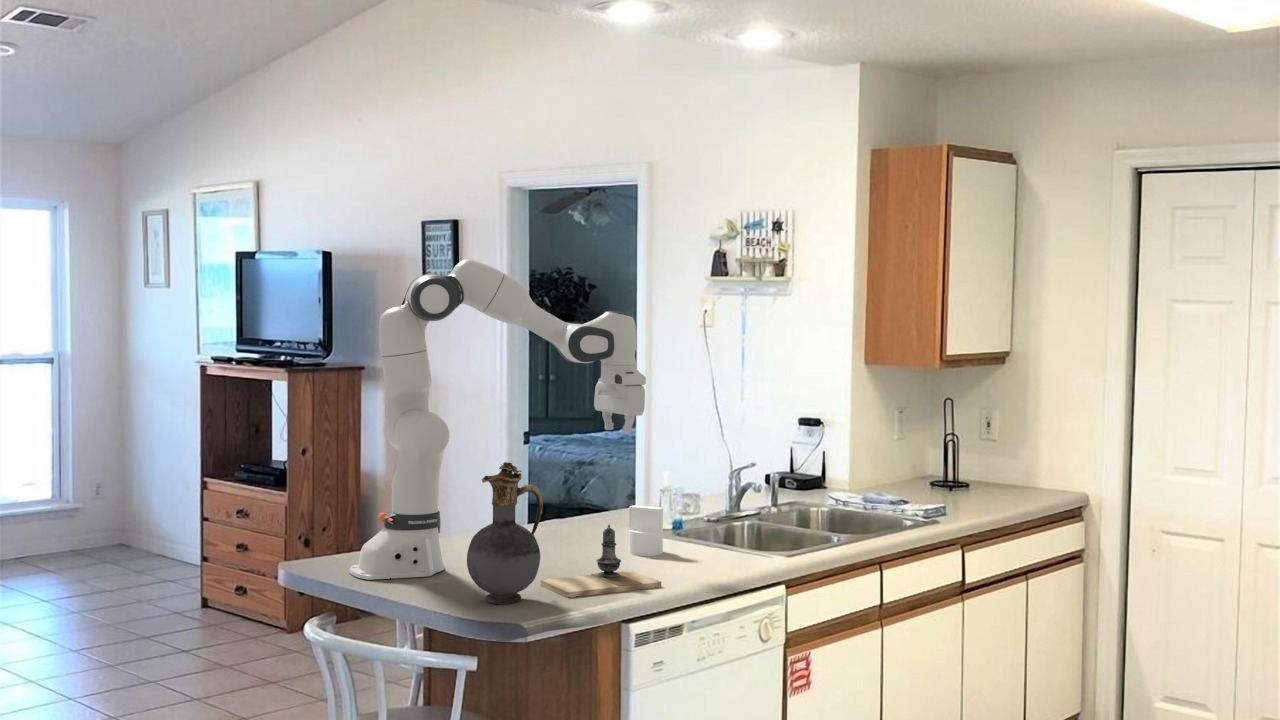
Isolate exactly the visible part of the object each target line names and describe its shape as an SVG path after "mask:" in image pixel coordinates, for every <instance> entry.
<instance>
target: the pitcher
mask: <svg viewBox="0 0 1280 720" xmlns="http://www.w3.org/2000/svg"><path fill="white" fill-rule="evenodd" d="M500 465H501V466H499V470H500V471H499V473H498V474H495V475H484V477H483V478H482V479H481V482H482V483H489V485H490V486H491V488H492V498H491V499H492V500H491V506H492V523H490V524H488V525H486V526H485V527H483V528H481V529H480V530H479V531H478V532H476V533H475V534H474V535H473V536H472V537H471V538H472V539H471V540H470V542H469V545H468V550H467V554H466V566H467V570H468V571H467V572H468V573H469V576H470V578H471V580H472V581H473V582H474V583H475V585H476V586H477V587H478V588H479V589H481V590H483V591H484V592H486V593H489V594H487V595H486V596H485V601H486V603H489V604H493V605H508V604H514V603H517V602H520V601H522V595H521V594H520V593H521V592H522V591H524V590H525V589H527V588H528V587H529V586H531V584H532V583H533V582H534V581H535V579H536V577H537V575H538V571H539V568H540V564H541V550H540V547H539V543H538V541H537V538H536V537H535V533H536V532H537V529H538V526H539V524H540V520H541V516H542V515H543V507H544V498H543V496H542V494H541V492H540V489H539V487H538V486H536V485H535V484H525V485H523V486H522V487H518V486H519V482H520V481H521V480H522V471H523V470H518V467H517V466H516V465H513V462H508V461H505V462H503V463H501V464H500ZM528 492H530V493H533V494H534V496H535V498H536V502H537V503H536V504H537V508H536V518H535V521H534V524H533V526H532V531H530V530H528V528H526V527H524V526H523V525H520V524H519V523H517V522H516V506H517V504H518V497H520V496H522V495H523V494H525V493H528Z"/></svg>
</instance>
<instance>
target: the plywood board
mask: <svg viewBox="0 0 1280 720" xmlns="http://www.w3.org/2000/svg"><path fill="white" fill-rule="evenodd" d="M616 572H617V573H618V574H620V576H619V577H615V578H602V577H598V576H597V575H598V574H599V573H600V572H599V573H598V572H597V573H590V574H585V575H575V576H567V577H558V578H547V579H540V586H542V587H544V588H546V589H548V590H550V591H552V592H554V593H556V594H559V595H560V596H563V597H565V598H566V599H567V598H568V597H570V598H577V597H576V596H579V597H585V596H586V597H587V596H594V595H595V596H596V595H603V594H613V593H621V592H628V591H629V592H630V591H639V590H638V589H640V590H647V589H646V588H648V589H656V588H655V587H657V588H662V581H660V580H658V579H655V578H653V577H649V576H648V575H645V574H642V573H639V572H637V571H634V570H624V571H616Z"/></svg>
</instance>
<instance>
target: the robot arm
mask: <svg viewBox="0 0 1280 720" xmlns="http://www.w3.org/2000/svg"><path fill="white" fill-rule="evenodd" d="M462 304H463V305H467V306H469V307H472V308H473V309H475V310H476V311H479V312H480V313H482V314H484V315H486V316H488V317H489V318H492V319H494V320H497V321H500V322H502V323H506V324H510V325H515V326H519V327H522V328H525V329H526V330H528V331H530V332H531V333H533V334H535V335H536V336H538V337H540V338H542V339H544V340H546V341H547V342H548V343H550V344H552V346H553V347H554V348H555V349H556V351H557V352H558V354H560V357H562V358H563V359H564V360H566V361H567V362H570V363H572V364H580V363H581V364H590V363H594V362H597V361H600V363H601V364H600V377H599V378H598V381H597V382H596V385H595V389H594V401H593V405H594V406H593V407H594V410H595V411H599V412H602V414H601V415H602V419H603V422H604V430H608V431H613V430H614V425H615V424H614V422H613V419H612V416H613V414H615V415H616V414H617V415H624V420H625V421H624V425H622V433H623V434H631V433H632V429H633V425H634V423H635V419H636V418H635V417H637V416H638V417H639V416H643V414H644V412H645V404H646V403H645V401H646V392H645V391H646V390H645V387H644V386H645V385H646V384H647V383H646V382H647V378H646V376H645V375H644V374H643V373H642V372H640V371H639V370H638V369H637V360H636V350H637V327H636V321H635V319H634V318H633V316H632V315H630V314H628V313H625V312H621V311H614V310H607V311H605V312H603V314H601V315H599V316H598V317H596V318H594V319H592V320H590V321H588V322H585V323H578V322H577V323H576V322H567V321H564V320H562V319H560V318H558V317H556V316H555V315H554V314H552V313H549V311H546V310H545V309H543V308H541V307H540V306H538V305H537V304H536V303H535V302H534V301H533V300H532V298H531V296H530V294H529V291H528V289H527V288H526V287H525V286H523V284H521V283H520V282H518V281H517V280H516V279H515V278H513V277H512V276H510V275H509V274H507V273H505V272H503V271H501V270H500V269H497V268H495V267H493V266H492V265H489V264H487V263H484V262H482V261H479V260H478V261H477V260H475V259H472V258H466V259H465V258H464V259H462V260H461V261H459V262H458V263H457V264H456V265H455V266H454V267H453V268H452V270H451V272H450V273H449V274H448V275H439V274H435V273H427V274H426V273H425V274H422V275H420V276H418V277H416V278H415V279H413V280H412V281H411V283H410V284H409V286H408V287H407V291H406V293H405V295H404V298H403V300H402V303H401V305H399V306H395V307H394V306H393V307H391V308H389V309H387V310H386V311H384V312H383V313H382V314H381V315H380V317H379V323H378V324H379V325H378V341H379V342H378V343H379V351H380V353H379V354H380V359H381V360H380V361H381V367H382V374H383V380H384V390H385V392H384V393H385V396H384V399H385V400H384V422H383V426H382V431H383V435H384V437H385V439H386V441H387V442H388V443H389V445H390V446H392V447H393V449H395V450H396V451H398V460H397V464H396V469H395V473H394V475H393V477H392V481H391V511H390V512H389V513H387V514H386V513H384V512H380V513H379V514H378V515H377V520H378V521H380V522H381V523H383V528H382V529H381V530H380V531H379V532H377V533H376V534H375V535H374V536H373V537H372V538H370V539H369V540H368V541H367V542H365V543H363V545H362V547H361V548H360V553H359V559H358V564H353V565H351V566H350V567H349V574H350V575H352V576H353V577H356V578H358V579H362V580H367V581H368V580H369V581H370V580H371V581H372V580H387V579H388V580H389V579H390V578H391V579H405V578H406V579H408V578H423V577H426V578H427V577H432V576H433V575H435V574H436V573H439V572H442V571H444V570H445V569H446V567H445V564H444V560H443V555H442V550H441V542H440V541H441V540H440V534H441V524H442V523H441V511H440V510H439V481H440V472H441V468H442V462H443V457H444V453H445V449H446V447H447V445H448V444H449V441H450V429H449V426H448V425H447V423H446V422H445V421H444V420H443V419H442V417H440V416H439V415H438V414H436V413H434V412H432V411H430V410H429V399H430V398H429V397H430V396H429V394H430V387H431V385H432V375H431V369H430V363H429V362H430V361H429V353H428V348H427V341H426V329H427V326H428V324H429V323H430V322H439V321H442V320H444V319H445V318H447V317H449V316H450V315H451V314H453V312H454V311H455V310H456V309H458V307H459V306H460V305H462ZM391 579H390V580H391Z"/></svg>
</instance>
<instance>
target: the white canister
mask: <svg viewBox="0 0 1280 720" xmlns="http://www.w3.org/2000/svg"><path fill="white" fill-rule="evenodd" d="M663 533H664V508H663V507H660V506H659V507H658V506H650V505H649V506H648V505H647V506H646V505H636V504H635V505H630V506H629V507H628V552H627V553H628V554H629V555H631V554H632V555H633V556H639V557H654V556H655V557H656V556H659V555H660V554H661V555H663V545H664V544H663V543H664V534H663Z"/></svg>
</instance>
